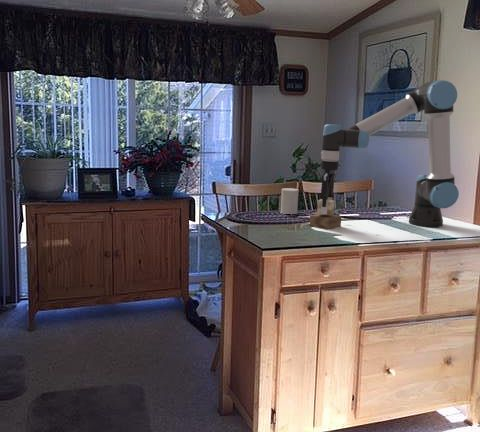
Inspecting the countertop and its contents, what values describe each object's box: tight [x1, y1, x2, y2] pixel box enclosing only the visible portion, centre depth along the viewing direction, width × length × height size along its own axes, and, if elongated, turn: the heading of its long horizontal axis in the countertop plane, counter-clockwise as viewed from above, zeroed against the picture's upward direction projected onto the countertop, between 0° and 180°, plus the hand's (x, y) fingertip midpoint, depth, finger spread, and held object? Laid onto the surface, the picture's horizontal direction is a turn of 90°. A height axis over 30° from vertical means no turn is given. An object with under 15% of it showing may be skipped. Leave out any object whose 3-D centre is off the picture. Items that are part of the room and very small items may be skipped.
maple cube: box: [316, 198, 336, 216], centre depth 235 cm, size 6×6×6 cm
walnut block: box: [308, 213, 342, 230], centre depth 237 cm, size 10×10×5 cm
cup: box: [280, 187, 300, 216], centre depth 262 cm, size 8×8×12 cm
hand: (325, 212), depth 236 cm, fingers closed on maple cube, 6 cm apart
